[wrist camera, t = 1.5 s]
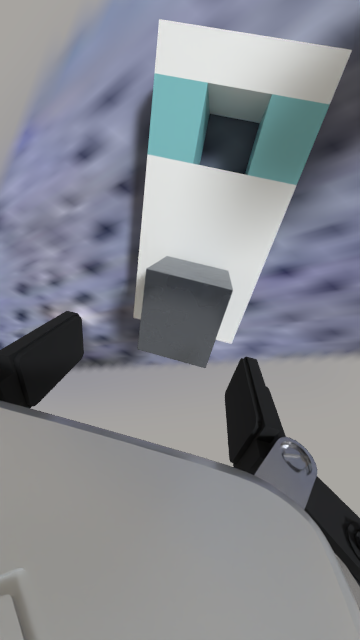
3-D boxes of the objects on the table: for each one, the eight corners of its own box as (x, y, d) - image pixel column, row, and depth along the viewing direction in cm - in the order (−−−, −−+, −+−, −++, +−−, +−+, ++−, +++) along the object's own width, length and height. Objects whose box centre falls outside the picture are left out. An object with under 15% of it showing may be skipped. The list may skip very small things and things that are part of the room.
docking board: (172, 66, 15) (159, 19, 12) (319, 92, 15) (352, 50, 11) (144, 305, 26) (133, 317, 22) (229, 327, 25) (231, 343, 22)
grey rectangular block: (226, 262, 21) (232, 290, 12) (209, 315, 25) (205, 368, 16) (176, 250, 22) (146, 268, 13) (166, 303, 25) (137, 349, 16)
